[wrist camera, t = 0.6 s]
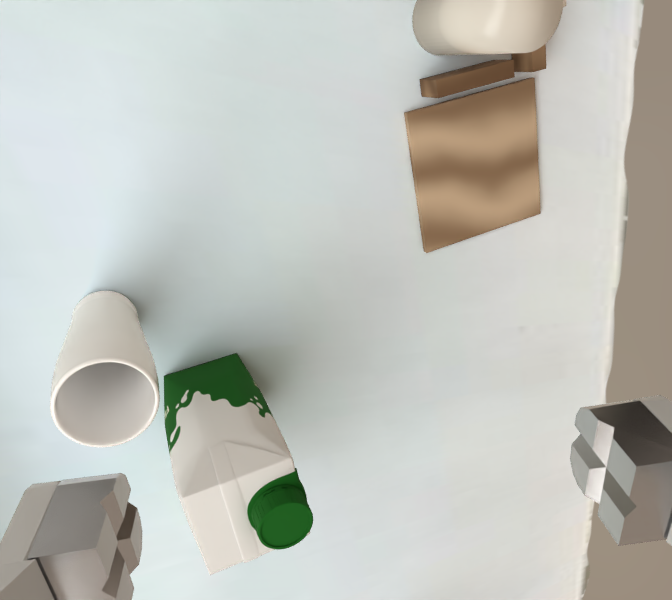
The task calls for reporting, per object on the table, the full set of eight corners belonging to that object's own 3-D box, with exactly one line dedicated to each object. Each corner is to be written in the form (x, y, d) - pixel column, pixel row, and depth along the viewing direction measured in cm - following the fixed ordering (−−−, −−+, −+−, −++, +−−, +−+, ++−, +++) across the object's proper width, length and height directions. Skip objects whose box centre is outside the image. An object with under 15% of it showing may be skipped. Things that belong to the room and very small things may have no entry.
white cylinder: (407, -12, 50) (489, -33, 39) (491, -31, 52) (589, -55, 41) (417, 62, 52) (496, 61, 42) (496, 42, 54) (589, 36, 44)
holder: (402, -52, 48) (420, -59, 46) (518, -75, 51) (540, -83, 48) (421, 96, 53) (438, 98, 51) (525, 68, 56) (546, 68, 54)
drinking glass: (61, 279, 48) (47, 359, 35) (147, 281, 51) (163, 355, 38) (63, 353, 50) (49, 454, 37) (145, 351, 53) (159, 444, 40)
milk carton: (262, 414, 60) (328, 557, 42) (175, 445, 57) (207, 609, 40) (243, 341, 56) (307, 465, 39) (149, 370, 54) (171, 516, 36)
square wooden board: (404, 112, 53) (407, 113, 53) (530, 77, 57) (534, 77, 56) (423, 251, 60) (426, 252, 59) (536, 212, 63) (540, 213, 62)
